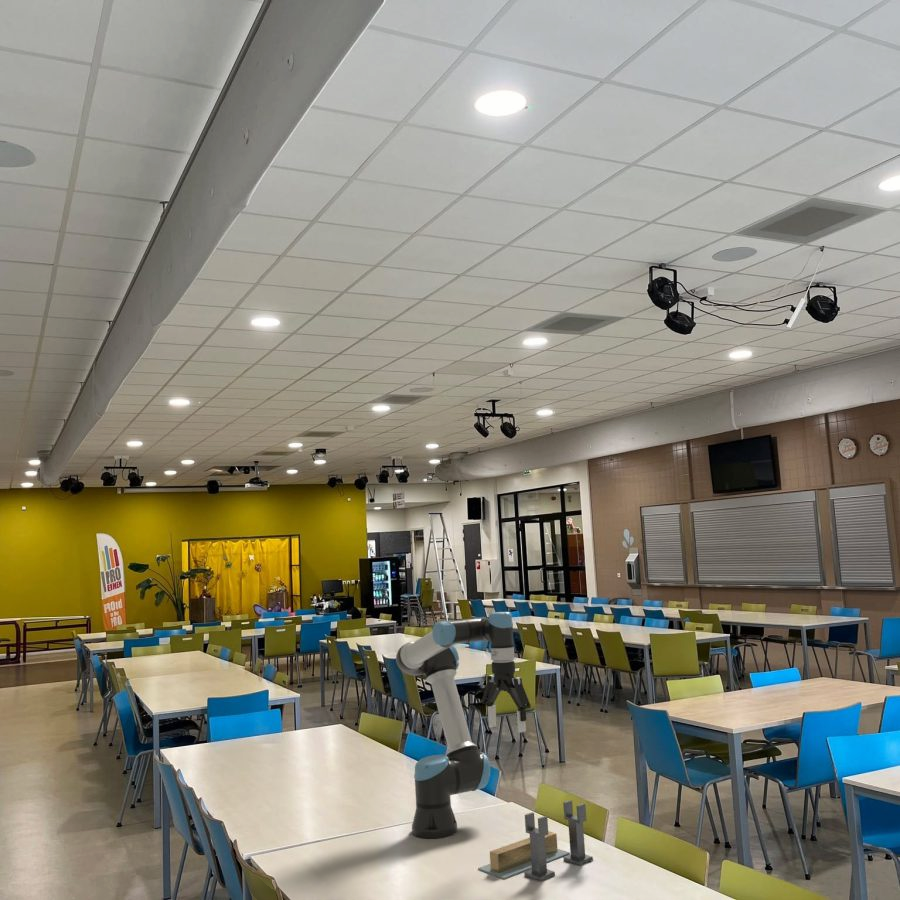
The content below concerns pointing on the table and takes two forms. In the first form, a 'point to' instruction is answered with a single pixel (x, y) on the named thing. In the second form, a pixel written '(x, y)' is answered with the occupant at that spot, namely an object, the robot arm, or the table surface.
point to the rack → (538, 834)
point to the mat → (522, 867)
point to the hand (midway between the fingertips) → (507, 729)
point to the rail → (518, 853)
